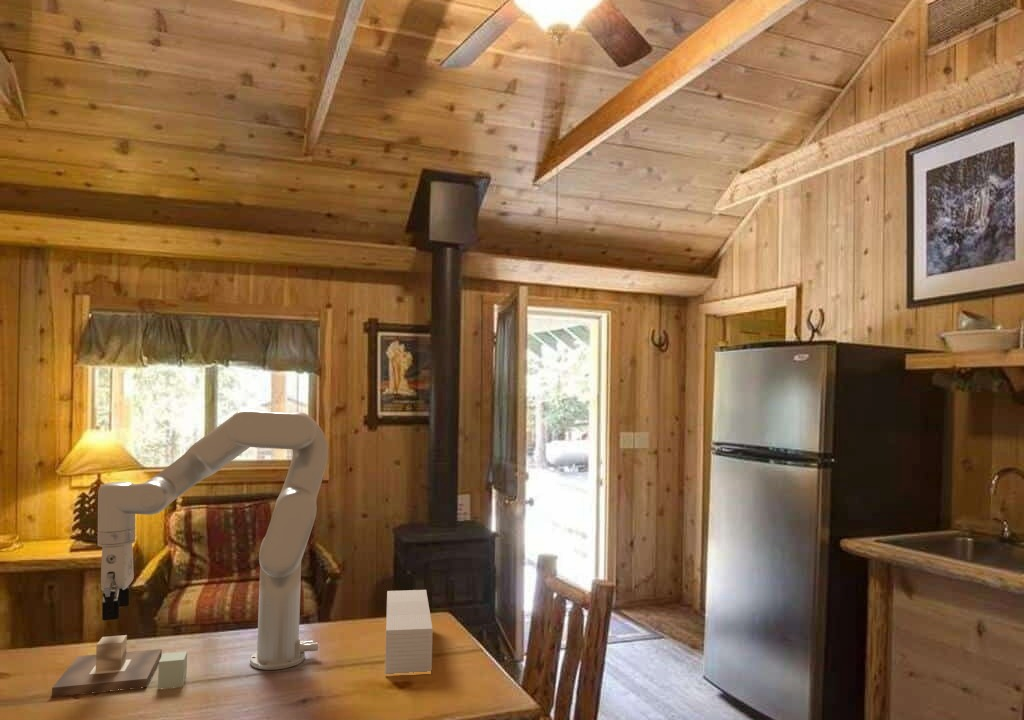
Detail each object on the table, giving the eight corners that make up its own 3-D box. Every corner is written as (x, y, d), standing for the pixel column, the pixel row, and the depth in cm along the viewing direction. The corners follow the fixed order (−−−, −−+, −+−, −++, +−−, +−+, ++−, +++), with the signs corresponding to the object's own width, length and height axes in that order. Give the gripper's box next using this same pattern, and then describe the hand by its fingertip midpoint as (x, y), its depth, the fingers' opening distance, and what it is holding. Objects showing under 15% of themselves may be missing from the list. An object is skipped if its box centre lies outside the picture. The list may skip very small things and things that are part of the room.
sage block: (186, 678, 158) (187, 651, 158) (182, 687, 153) (183, 659, 154) (161, 680, 157) (162, 653, 157) (157, 689, 152) (158, 661, 152)
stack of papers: (431, 675, 163) (432, 628, 163) (385, 678, 161) (386, 630, 161) (425, 628, 194) (426, 589, 195) (386, 630, 192) (387, 590, 193)
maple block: (125, 661, 162) (126, 635, 162) (120, 669, 157) (121, 642, 157) (101, 663, 160) (102, 636, 161) (95, 671, 156) (96, 644, 156)
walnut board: (161, 657, 170) (161, 648, 170) (146, 687, 153) (146, 678, 153) (76, 664, 165) (77, 655, 165) (51, 697, 147) (52, 687, 147)
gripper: (126, 543, 153) (125, 623, 152) (142, 528, 169) (142, 600, 169) (87, 546, 151) (86, 627, 150) (107, 530, 167) (107, 603, 167)
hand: (116, 612), depth 159 cm, fingers open, 9 cm apart
